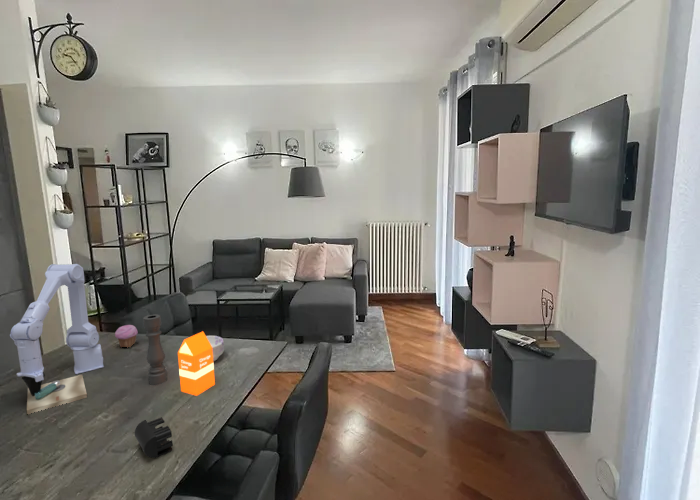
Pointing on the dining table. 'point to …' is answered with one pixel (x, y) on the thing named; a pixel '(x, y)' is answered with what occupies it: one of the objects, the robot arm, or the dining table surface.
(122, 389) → the dining table surface
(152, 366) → the candle holder
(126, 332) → the cupcake
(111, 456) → the dining table surface
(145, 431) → the end cap
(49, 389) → the teal rounded rod
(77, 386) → the latch board
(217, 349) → the paper bowls
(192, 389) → the orange juice
